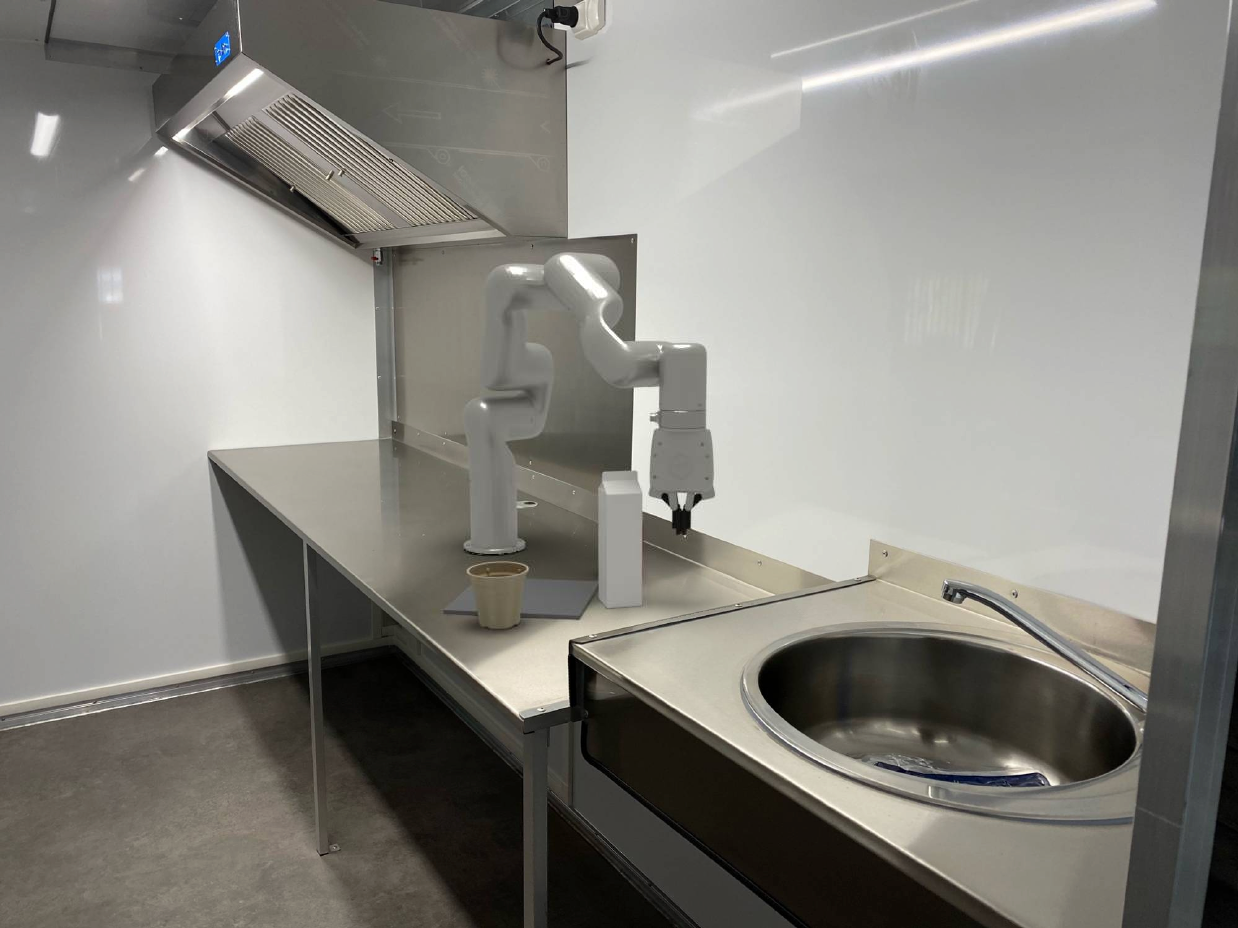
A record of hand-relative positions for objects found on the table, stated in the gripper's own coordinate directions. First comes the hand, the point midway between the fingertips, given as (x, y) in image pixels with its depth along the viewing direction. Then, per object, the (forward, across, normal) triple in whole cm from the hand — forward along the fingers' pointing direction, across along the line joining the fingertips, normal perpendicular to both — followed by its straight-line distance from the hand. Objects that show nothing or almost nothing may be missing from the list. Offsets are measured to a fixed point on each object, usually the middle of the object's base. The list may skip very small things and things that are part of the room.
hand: (681, 533), depth 150 cm
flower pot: (+12, -27, -14) cm, 33 cm away
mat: (+12, -26, 0) cm, 29 cm away
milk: (+12, -10, 0) cm, 16 cm away
